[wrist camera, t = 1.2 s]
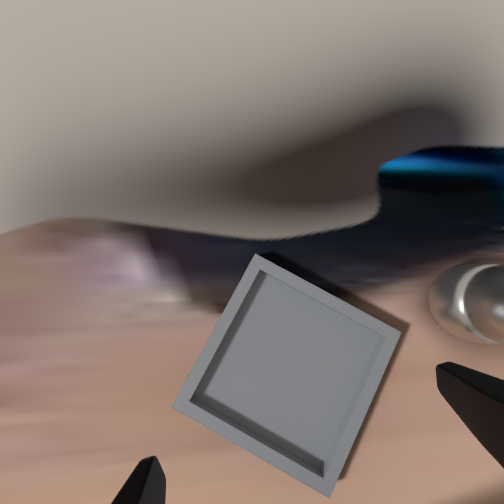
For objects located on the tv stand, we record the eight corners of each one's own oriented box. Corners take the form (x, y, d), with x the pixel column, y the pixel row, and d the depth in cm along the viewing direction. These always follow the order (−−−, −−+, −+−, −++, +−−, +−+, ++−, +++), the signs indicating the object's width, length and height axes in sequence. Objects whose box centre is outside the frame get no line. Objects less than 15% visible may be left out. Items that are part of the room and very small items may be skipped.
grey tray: (392, 330, 24) (401, 332, 23) (323, 484, 22) (329, 498, 21) (254, 255, 25) (255, 253, 24) (176, 399, 23) (171, 407, 22)
